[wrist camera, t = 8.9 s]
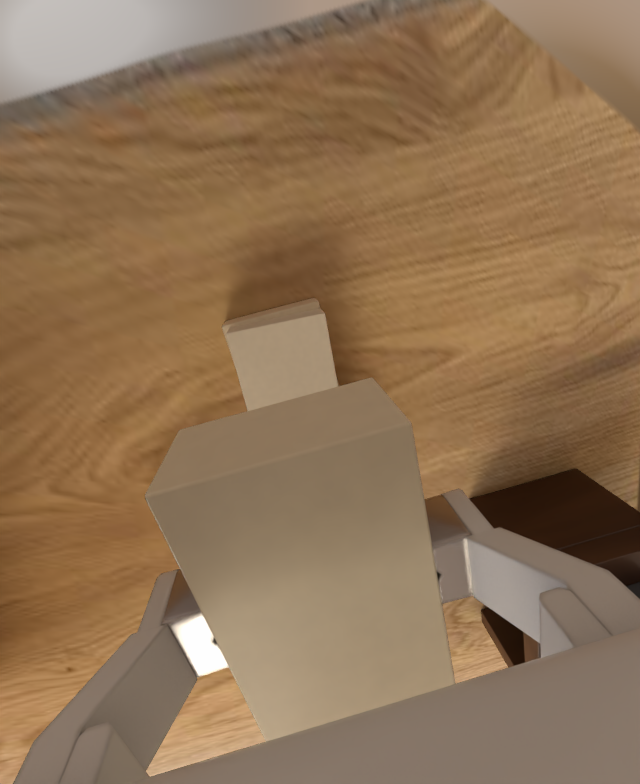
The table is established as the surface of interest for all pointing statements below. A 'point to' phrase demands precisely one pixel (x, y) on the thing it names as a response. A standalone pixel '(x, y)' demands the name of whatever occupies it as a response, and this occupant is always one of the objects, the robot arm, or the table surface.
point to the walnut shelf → (562, 537)
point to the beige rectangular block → (309, 554)
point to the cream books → (281, 353)
